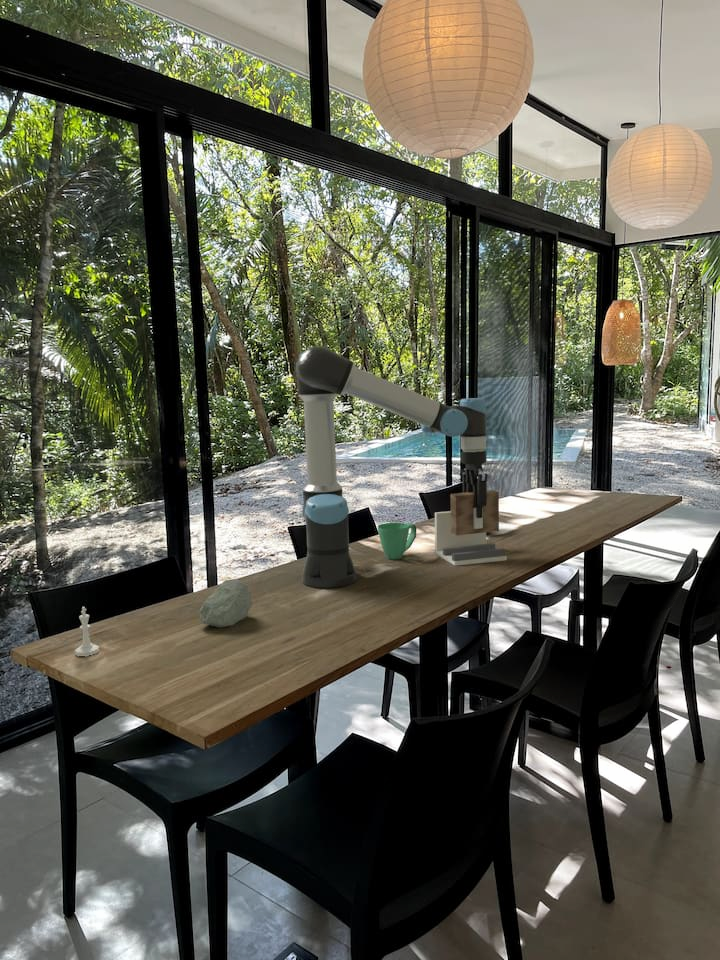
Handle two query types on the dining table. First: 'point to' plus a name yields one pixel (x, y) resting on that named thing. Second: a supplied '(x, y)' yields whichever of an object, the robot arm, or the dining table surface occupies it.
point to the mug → (396, 538)
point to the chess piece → (86, 638)
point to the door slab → (464, 513)
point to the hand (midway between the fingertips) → (474, 526)
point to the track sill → (463, 544)
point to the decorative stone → (226, 604)
